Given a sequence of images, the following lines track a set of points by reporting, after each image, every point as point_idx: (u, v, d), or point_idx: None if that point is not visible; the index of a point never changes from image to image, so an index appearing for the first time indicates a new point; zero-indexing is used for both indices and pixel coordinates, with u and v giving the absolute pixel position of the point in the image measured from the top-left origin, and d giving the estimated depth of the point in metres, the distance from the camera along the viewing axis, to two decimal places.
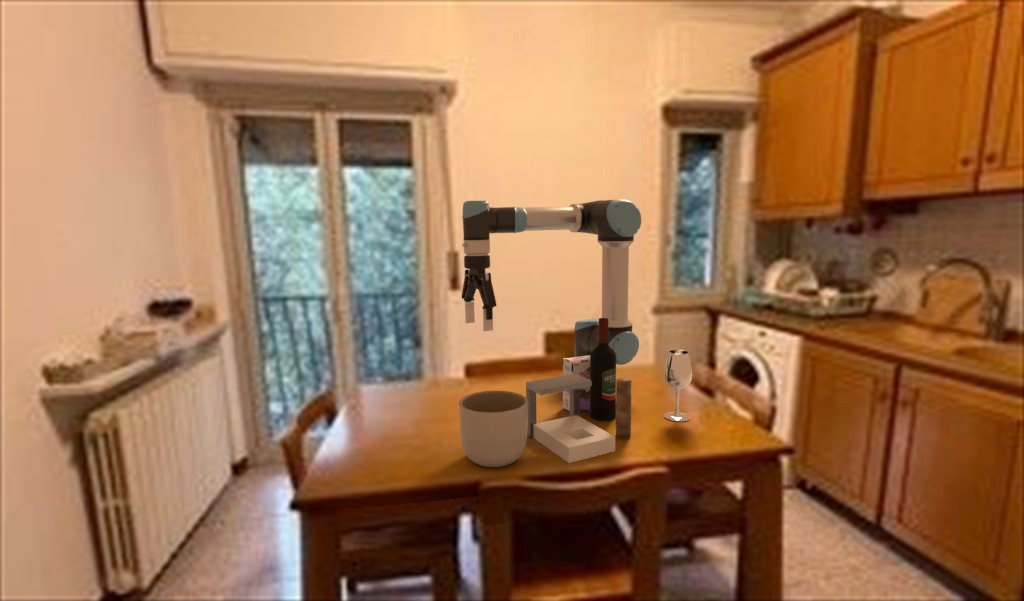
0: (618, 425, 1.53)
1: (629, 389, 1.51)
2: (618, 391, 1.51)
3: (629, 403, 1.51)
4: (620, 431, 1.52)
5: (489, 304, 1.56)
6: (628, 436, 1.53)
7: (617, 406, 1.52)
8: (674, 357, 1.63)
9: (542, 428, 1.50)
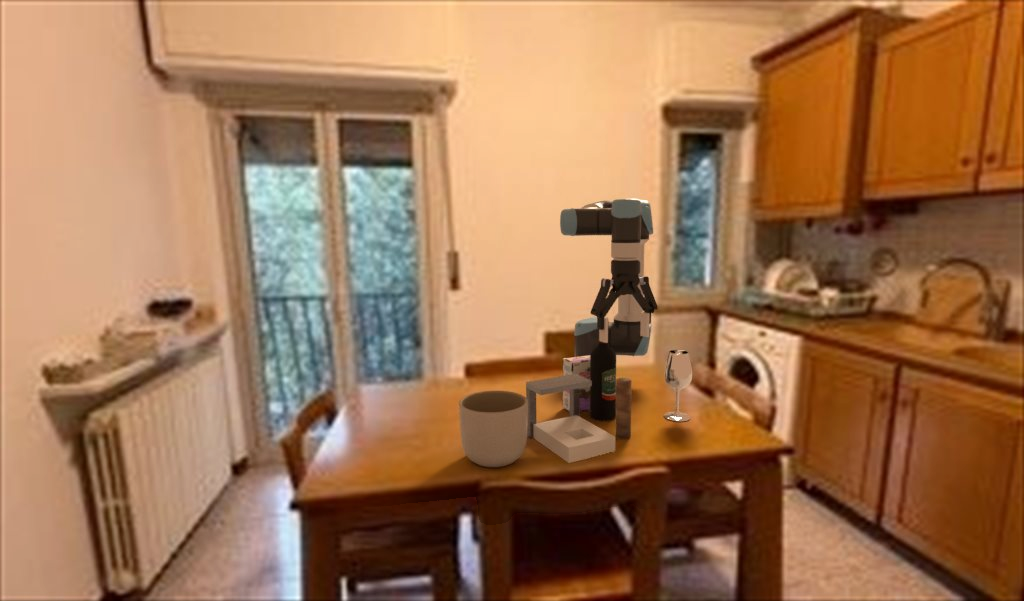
0: (618, 425, 1.53)
1: (629, 389, 1.51)
2: (618, 391, 1.51)
3: (629, 403, 1.51)
4: (620, 431, 1.52)
5: (591, 311, 1.45)
6: (628, 436, 1.53)
7: (617, 406, 1.52)
8: (674, 357, 1.63)
9: (542, 428, 1.50)
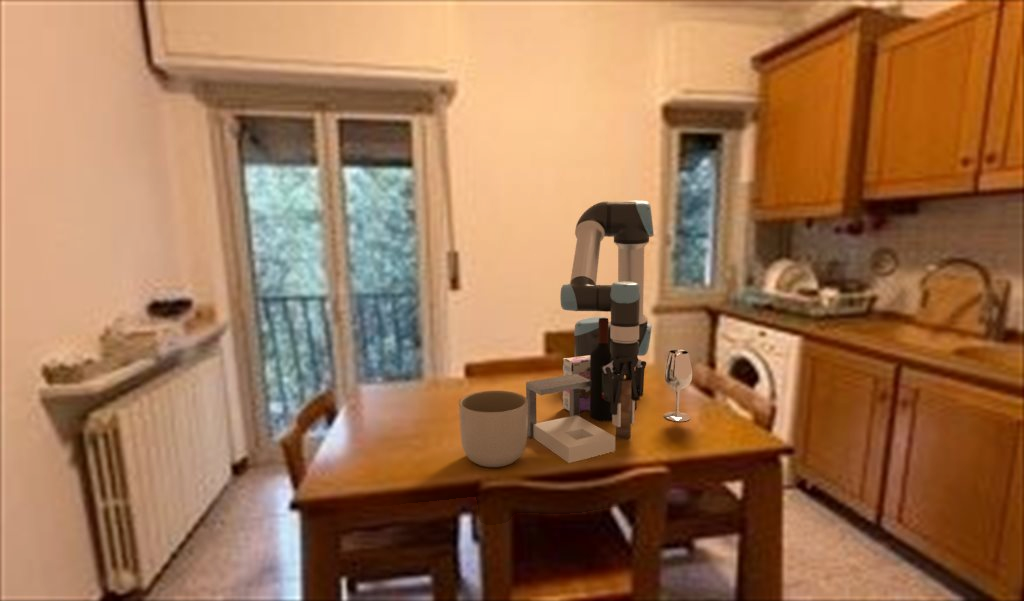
0: None
1: (629, 389, 1.51)
2: None
3: (629, 403, 1.51)
4: (620, 430, 1.52)
5: (605, 397, 1.51)
6: (628, 436, 1.53)
7: None
8: (674, 357, 1.63)
9: (542, 428, 1.50)
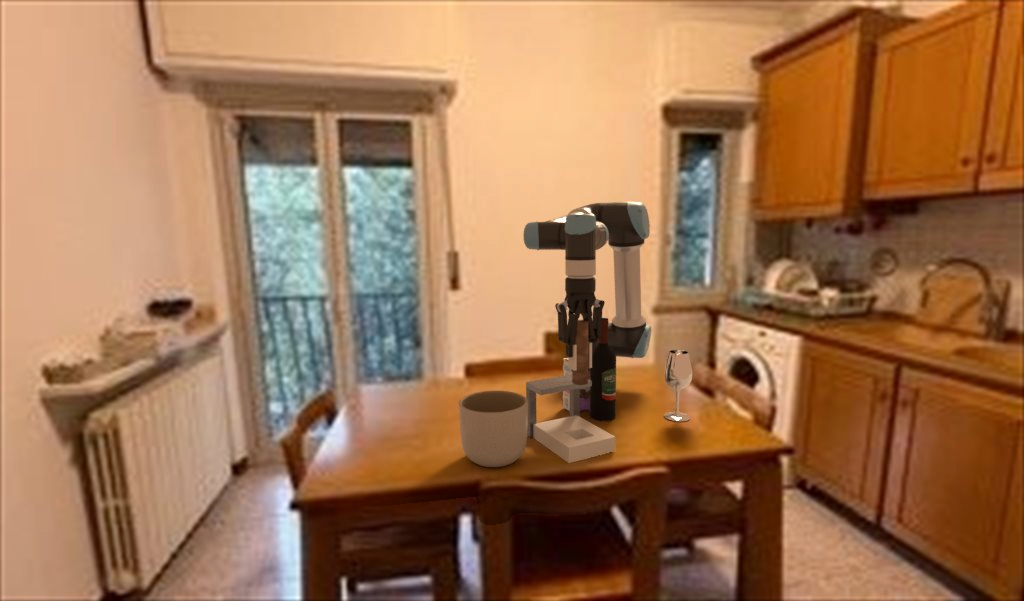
0: None
1: (585, 330, 1.41)
2: None
3: (586, 345, 1.41)
4: (577, 375, 1.42)
5: (559, 338, 1.41)
6: (585, 381, 1.42)
7: None
8: (674, 357, 1.63)
9: (542, 428, 1.50)
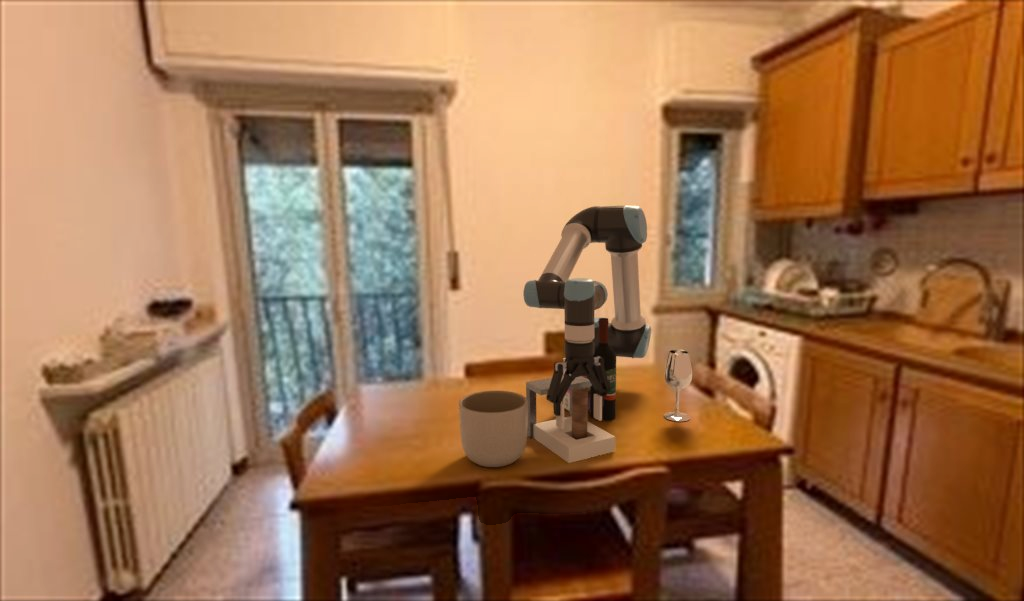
0: (574, 436, 1.45)
1: (585, 399, 1.43)
2: (574, 401, 1.44)
3: (585, 413, 1.44)
4: None
5: (547, 397, 1.41)
6: None
7: (572, 417, 1.45)
8: (674, 357, 1.63)
9: (542, 428, 1.50)
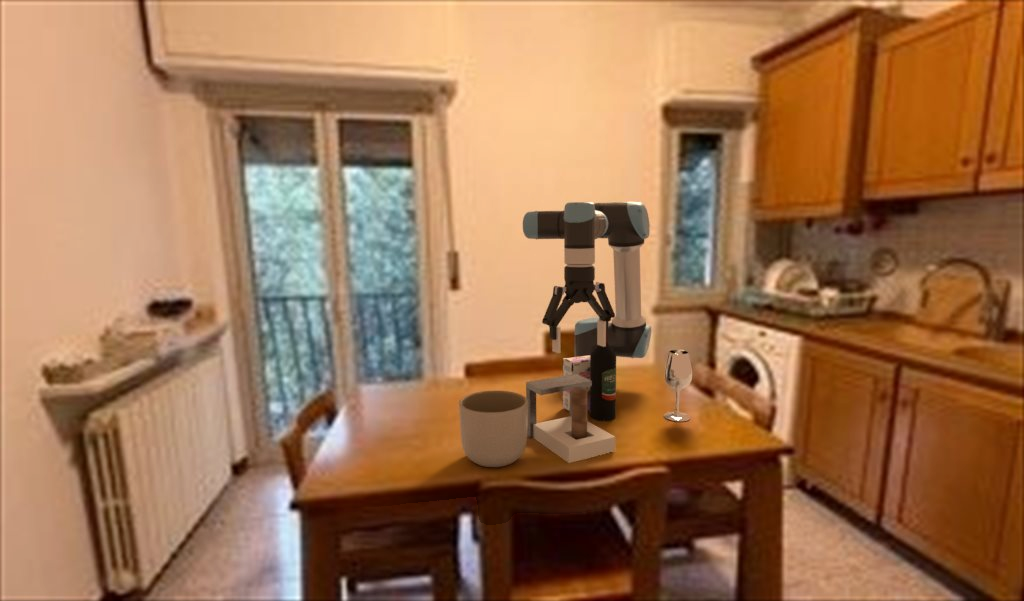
0: (574, 437, 1.45)
1: (584, 399, 1.43)
2: (573, 401, 1.44)
3: (585, 414, 1.44)
4: None
5: (543, 321, 1.38)
6: None
7: (572, 417, 1.45)
8: (674, 357, 1.63)
9: (542, 428, 1.50)
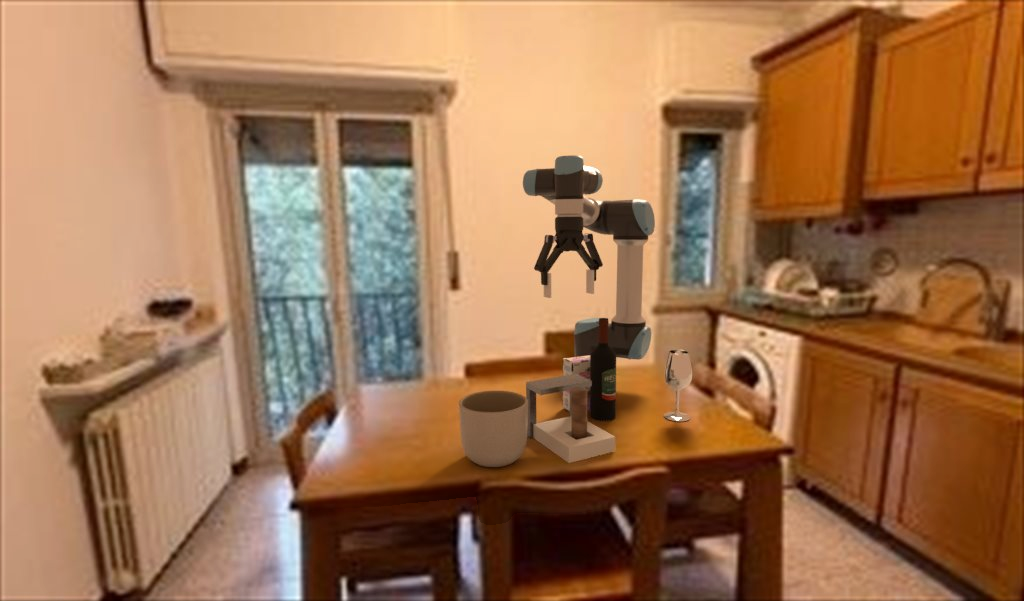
0: (574, 437, 1.45)
1: (584, 399, 1.43)
2: (573, 401, 1.44)
3: (585, 414, 1.44)
4: None
5: (534, 267, 1.48)
6: None
7: (572, 417, 1.45)
8: (674, 357, 1.63)
9: (542, 428, 1.50)
